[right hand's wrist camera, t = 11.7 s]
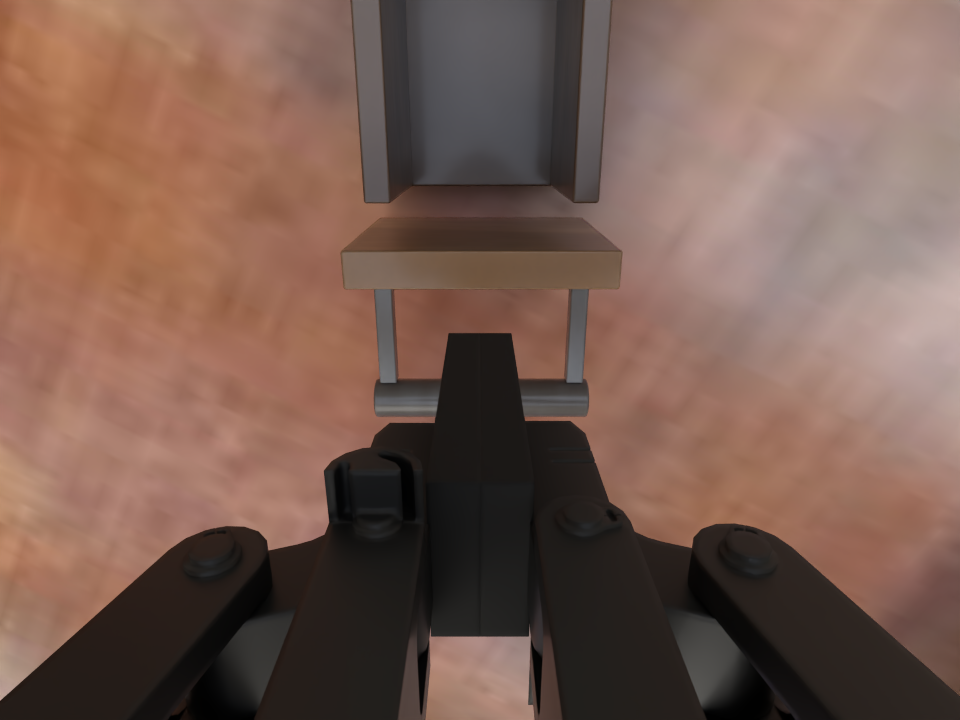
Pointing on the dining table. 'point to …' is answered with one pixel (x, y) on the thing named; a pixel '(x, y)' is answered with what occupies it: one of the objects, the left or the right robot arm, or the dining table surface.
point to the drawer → (481, 165)
